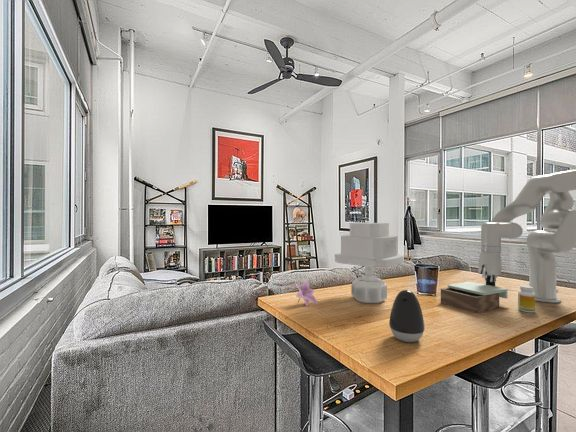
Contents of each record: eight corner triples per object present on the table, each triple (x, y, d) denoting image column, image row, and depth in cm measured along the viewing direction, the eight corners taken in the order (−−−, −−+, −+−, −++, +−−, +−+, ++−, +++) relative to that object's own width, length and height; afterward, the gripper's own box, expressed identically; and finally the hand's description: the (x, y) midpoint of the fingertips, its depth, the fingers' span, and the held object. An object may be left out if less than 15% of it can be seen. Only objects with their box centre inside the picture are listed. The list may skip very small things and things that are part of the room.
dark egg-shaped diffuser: (385, 341, 92) (385, 291, 92) (393, 330, 101) (393, 284, 101) (421, 349, 87) (421, 296, 87) (426, 336, 96) (426, 288, 96)
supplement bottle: (538, 313, 119) (538, 288, 119) (522, 312, 120) (522, 287, 120) (530, 309, 124) (530, 285, 124) (515, 308, 125) (515, 284, 125)
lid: (470, 290, 143) (470, 281, 143) (507, 298, 128) (507, 288, 128) (447, 293, 135) (447, 285, 135) (484, 303, 121) (484, 293, 121)
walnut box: (462, 298, 140) (462, 285, 140) (499, 307, 126) (499, 293, 126) (440, 302, 133) (440, 288, 133) (476, 312, 119) (476, 297, 119)
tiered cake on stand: (409, 299, 139) (409, 223, 139) (383, 312, 120) (383, 224, 120) (357, 289, 157) (357, 222, 157) (328, 299, 138) (328, 223, 138)
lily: (291, 310, 126) (301, 291, 123) (284, 293, 136) (293, 275, 134) (315, 315, 130) (325, 298, 128) (307, 298, 141) (316, 281, 138)
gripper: (492, 248, 143) (491, 286, 143) (472, 249, 137) (471, 289, 137) (509, 249, 136) (509, 290, 136) (489, 251, 130) (488, 293, 130)
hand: (490, 290), depth 137 cm, fingers closed
